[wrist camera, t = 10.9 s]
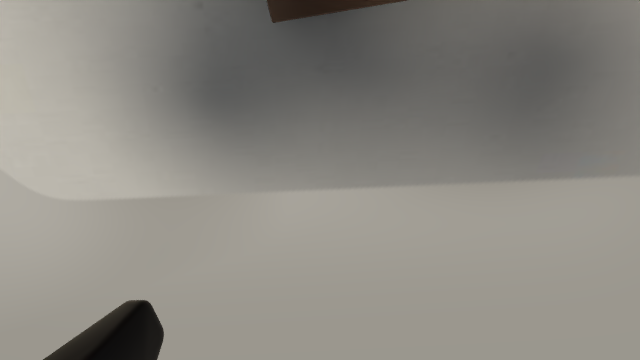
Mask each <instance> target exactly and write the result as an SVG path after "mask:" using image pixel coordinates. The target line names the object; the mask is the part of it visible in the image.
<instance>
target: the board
mask: <svg viewBox="0 0 640 360" xmlns="http://www.w3.org/2000/svg"><path fill="white" fill-rule="evenodd" d="M401 1H407V0H267V3H268V7H269V12H270V16H271V20H272V22H273V23H276V22H282V21H287V20H293V19H299V18H305V17H311V16H317V15H323V14H329V13H335V12H341V11H347V10H353V9H359V8H365V7H371V6H377V5H383V4H389V3H395V2H401Z"/></svg>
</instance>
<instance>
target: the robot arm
mask: <svg viewBox="0 0 640 360" xmlns="http://www.w3.org/2000/svg"><path fill="white" fill-rule="evenodd" d="M163 337H164V332H163V328H162V325H161V323H160V321H159V319H158V317H157V315H156V313H155V311H154V309H153V307H152V305H151V304H150V303H149V302H148V301H145V300H131V301H127V302H125V303H124V304H122V305H121V306H119V307H118V308H116V309H115V310H113V311H112V312H111V313H109V314H108V315H106V316H105V317H104V318H102V319H101V320H99V321H98V322H96V323H95V324H93V325H92V326H91V327H89V328H88V329H86V330H85V331H84V332H82V333H81V334H79V335H78V336H76V337H75V338H73V339H72V340H71V341H69V342H68V343H66V344H65V345H63V346H62V347H60V348H59V349H58V350H56V351H55V352H53V353H52V354H51V355H49V356H48V357H46V358H45V359H43V360H157V358H158V355H159V352H160V349H161V345H162V342H163Z"/></svg>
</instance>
